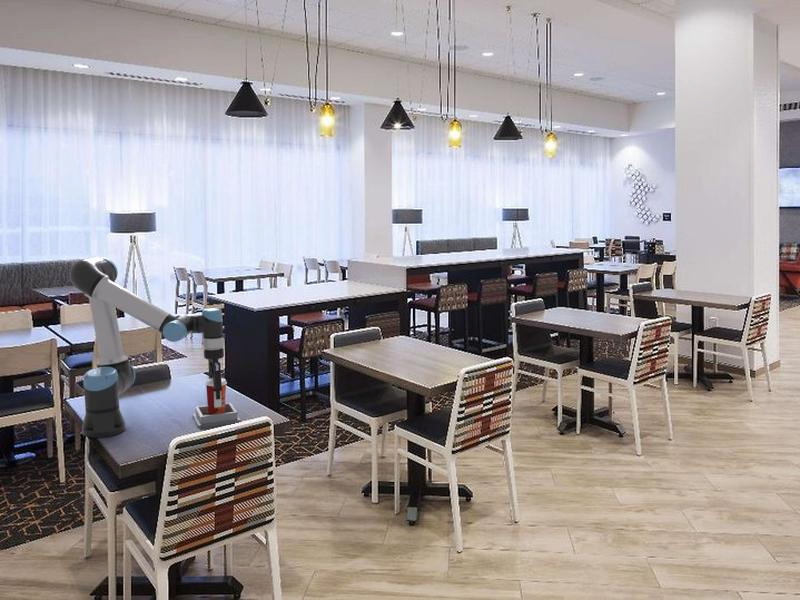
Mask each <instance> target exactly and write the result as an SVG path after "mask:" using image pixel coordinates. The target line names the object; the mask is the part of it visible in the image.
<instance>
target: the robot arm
mask: <svg viewBox="0 0 800 600" xmlns="http://www.w3.org/2000/svg"><path fill="white" fill-rule="evenodd" d="M118 275H119V274H118V268H117V266H116V264H115V263H114V262H113V261H112V260H111V259H109V258H106V257H103V256H94V257H90V258H85V259H80V260H78V261H75V263H74V264H73V265H72V266H71V268H70V270H69V279H70V282H71V284H72V285H73V287H75V288H76V289H77V290H79V291H80V292H82V294H83V295H84V296H85V297H87V298H88V300H89V305H90V311H91V317H92V322H93V327H94V333H95V334H94V335H95V338H96V339H95V340H96V345H97V350H98V354H99V359H98V360H97V362H96V367H95V368H92V369H89V370H88V371H86V372H85V373H84V375H83V382H82V384H83V394H84V395H83V396H84V406H85V413H84V414H85V415H84V419H83V422H82V426H81V434H82V436H83V437H85V438H96V439H97V438H98V439H99V438H107V437H108V438H109V437H111V436H115V435H118V434H121V433H123V432H125V430H126V421H125V419H124V416H123V414H122V412H121V410H120V397H119V396H120V395H122V394H123V393H124V392H126V391H128V390H129V389H130V388H131V387H132V386H133V384H134V382H135V380H136V369H135V368H134V366H133V365H131V364H130V361H129V357H128V356H127V355H125V354H124V351H123V346H122V344H123V343H122V338H121V334H120V327H119V322H118V317H117V309H118V310H119V311H121V312H123V313H125V314H127V315H129V316H130V317H132V318H134V319H136V320H138V321H140V322H141V323H143V324H145V325H147V326H148V327H150V328H152V329H153V330H156V331H157V332H160V333H161V334H162V335H163V337H164V338H165V340H167V341H168V342H170V343H171V342H172V343H176V342H179V341H182V340H183V339H184V338H185V337H187V336H189V334H202V337H203V338H202V340H203V348H204V349H203V357H204V359H206V360H207V361H208V379H210V378H213V383H214V390H212V391H213V392H214V407H222V402H221V390H222V383H221V378H222V373H221V367H222V365H221V362H220V361H219V360H221V359H223V358H224V357H225V349H224V348H223V347H224V342H225V338H224V320H223V311H222V310H221V309H220V308H215V307H211V308H204V309H202V312H201V313H196V314H195V313H179V314H178V313H177V314H176V313H175V314H171V313H169V312H168V311H167V310H166V311H165V310H163V309H162V308H160V307H158V306H156V305H155V304H154V303H151V302H150V301H148V300H145V298H142V297H140V296H139V295H137V294H135V293H134V292H132V291H130V290H128V289H126V288H124V287H123V286H121V285H120V284H117V283H116V280H117V279H118ZM217 387H219V388H217Z"/></svg>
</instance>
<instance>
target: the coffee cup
mask: <svg viewBox="0 0 800 600" xmlns="http://www.w3.org/2000/svg"><path fill="white" fill-rule="evenodd" d="M221 383H222V390H221V402H222V407H214V392H213V391H212V390H214V383H213V378H210V379H209V378H207V379H206V382H205V385H206V386H205V388H206V398H207V399H206V400H207V402H206V403H207V405H208V415H213V414H221V413H224V410H225V403H226V393H227V392H226V389H227V384H228V382H227V379H226V378H224V377H221ZM217 388H219V387H217Z"/></svg>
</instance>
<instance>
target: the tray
mask: <svg viewBox="0 0 800 600" xmlns="http://www.w3.org/2000/svg"><path fill="white" fill-rule="evenodd" d="M192 417H193V419H194V422H195V423H196V426H197V425H198V426H197V427H198V428H199V429H202V428H201V427H203V428H207V427H206V426H210V427H217V426H224V425H232V424H231V423H233V424H236V423H235V422H240V423H242V419H241V418H240V417H239V415H238V411H237V410H236V408H235V407H234V406H233V404H232V402H225V410H224V413H221V414H213V415H208V404H207V405H200V406H195V413H192Z"/></svg>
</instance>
